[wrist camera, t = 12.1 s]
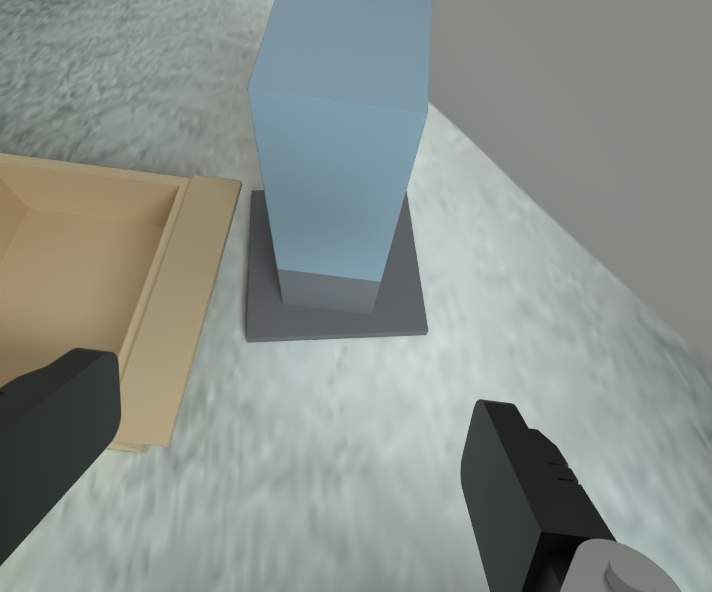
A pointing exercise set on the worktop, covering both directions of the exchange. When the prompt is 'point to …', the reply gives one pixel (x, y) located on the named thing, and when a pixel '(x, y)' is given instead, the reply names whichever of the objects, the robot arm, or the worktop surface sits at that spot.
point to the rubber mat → (289, 322)
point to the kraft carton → (111, 277)
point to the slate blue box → (338, 139)
